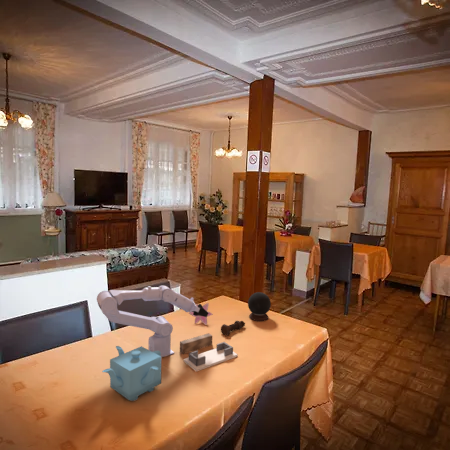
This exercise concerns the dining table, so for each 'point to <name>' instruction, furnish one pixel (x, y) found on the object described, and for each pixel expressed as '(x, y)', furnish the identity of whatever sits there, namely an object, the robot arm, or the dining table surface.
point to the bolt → (232, 327)
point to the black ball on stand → (259, 306)
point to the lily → (202, 318)
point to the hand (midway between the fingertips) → (203, 313)
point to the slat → (195, 343)
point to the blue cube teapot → (135, 372)
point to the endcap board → (210, 357)
